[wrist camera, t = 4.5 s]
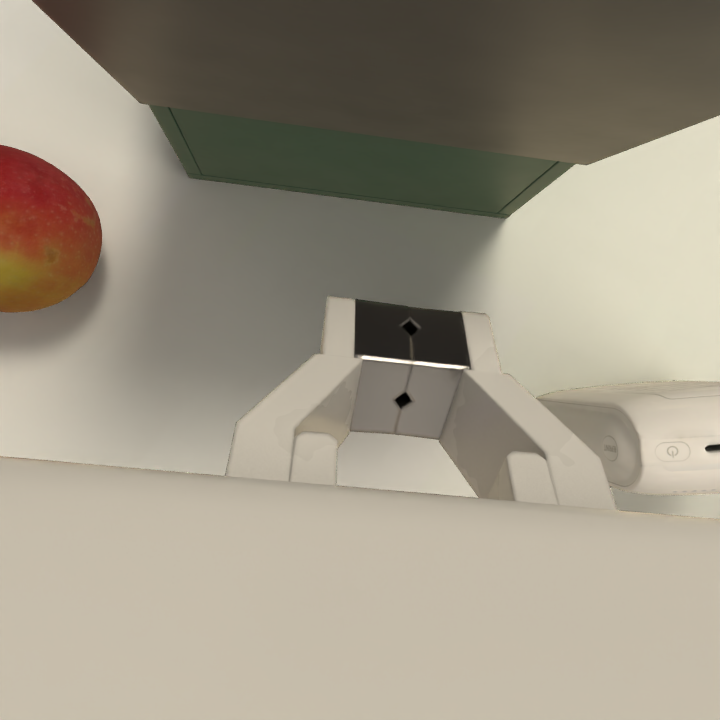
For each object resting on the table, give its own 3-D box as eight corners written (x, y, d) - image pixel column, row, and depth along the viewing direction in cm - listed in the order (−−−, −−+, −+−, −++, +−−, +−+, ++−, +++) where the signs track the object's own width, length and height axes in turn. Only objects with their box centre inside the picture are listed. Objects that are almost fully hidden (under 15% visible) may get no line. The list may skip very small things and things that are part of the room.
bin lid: (-173, -264, 8) (-173, -190, 9) (1015, -49, 10) (1001, 11, 10) (141, 78, 24) (139, 103, 24) (591, 142, 25) (587, 166, 25)
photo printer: (527, 467, 35) (649, 516, 23) (520, 390, 35) (638, 398, 23) (701, 450, 36) (907, 488, 24) (694, 376, 36) (896, 375, 24)
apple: (26, 143, 33) (-61, 69, 25) (148, 242, 34) (100, 200, 26) (-72, 253, 33) (-194, 213, 25) (53, 352, 33) (-26, 344, 25)
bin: (219, -85, 34) (186, -267, 25) (530, -33, 36) (615, -186, 26) (189, 178, 34) (143, 97, 24) (506, 218, 35) (583, 158, 26)
